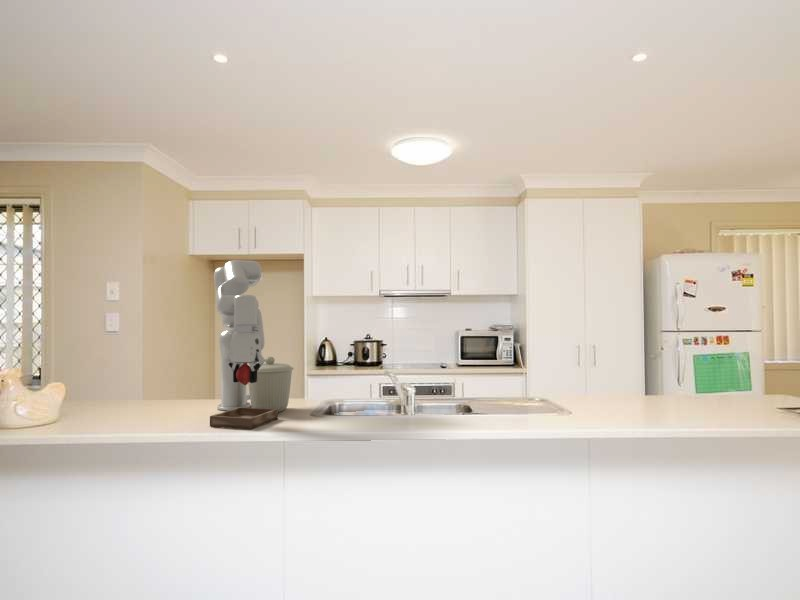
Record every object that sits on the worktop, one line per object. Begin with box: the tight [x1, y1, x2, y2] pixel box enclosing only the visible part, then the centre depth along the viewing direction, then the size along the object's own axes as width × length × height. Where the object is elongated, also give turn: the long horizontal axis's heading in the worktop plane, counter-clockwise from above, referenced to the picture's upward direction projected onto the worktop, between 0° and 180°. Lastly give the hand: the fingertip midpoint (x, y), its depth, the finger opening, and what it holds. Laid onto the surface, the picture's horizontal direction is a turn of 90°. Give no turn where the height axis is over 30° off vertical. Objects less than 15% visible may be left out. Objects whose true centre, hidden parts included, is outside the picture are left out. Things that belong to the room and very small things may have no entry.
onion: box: [236, 363, 251, 386], centre depth 159 cm, size 6×6×8 cm
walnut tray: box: [209, 407, 279, 430], centre depth 159 cm, size 16×16×4 cm
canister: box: [248, 356, 295, 413], centre depth 179 cm, size 18×18×21 cm
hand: (245, 381), depth 159 cm, fingers closed on onion, 5 cm apart
